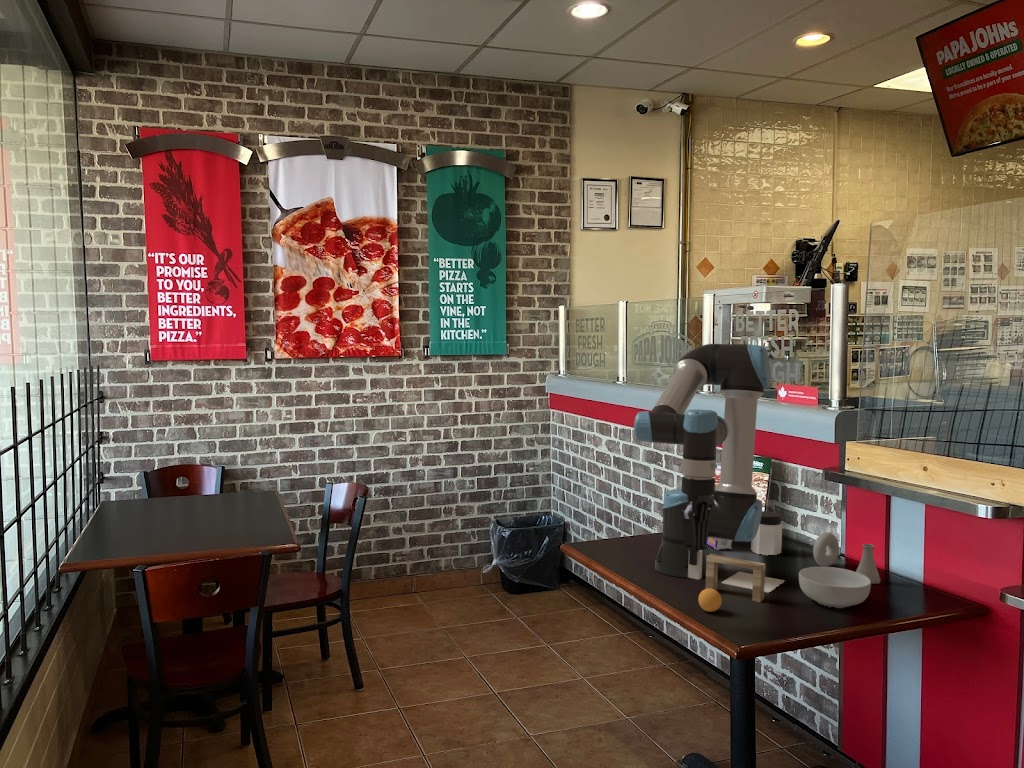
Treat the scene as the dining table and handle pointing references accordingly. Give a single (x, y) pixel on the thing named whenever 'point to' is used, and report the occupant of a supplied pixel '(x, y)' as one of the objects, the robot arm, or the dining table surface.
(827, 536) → the donut
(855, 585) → the cereal bowl
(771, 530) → the jar
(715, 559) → the bridge
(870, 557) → the flask
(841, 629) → the dining table surface
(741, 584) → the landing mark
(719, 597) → the ball
